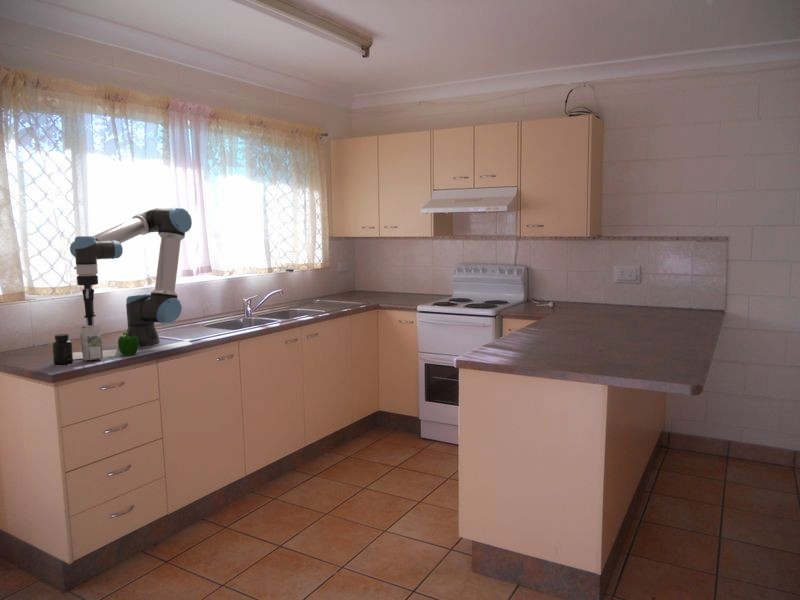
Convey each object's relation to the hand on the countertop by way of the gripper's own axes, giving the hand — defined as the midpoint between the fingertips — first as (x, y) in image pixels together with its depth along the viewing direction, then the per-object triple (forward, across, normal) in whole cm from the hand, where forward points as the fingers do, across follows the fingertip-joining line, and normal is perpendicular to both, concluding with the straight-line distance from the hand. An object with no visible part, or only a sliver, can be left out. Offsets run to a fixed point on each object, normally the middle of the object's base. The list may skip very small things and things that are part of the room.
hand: (91, 333), depth 244 cm
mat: (+12, -14, -1) cm, 19 cm away
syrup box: (+12, -3, 0) cm, 12 cm away
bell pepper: (+12, -10, +13) cm, 20 cm away
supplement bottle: (+12, 0, -10) cm, 16 cm away
